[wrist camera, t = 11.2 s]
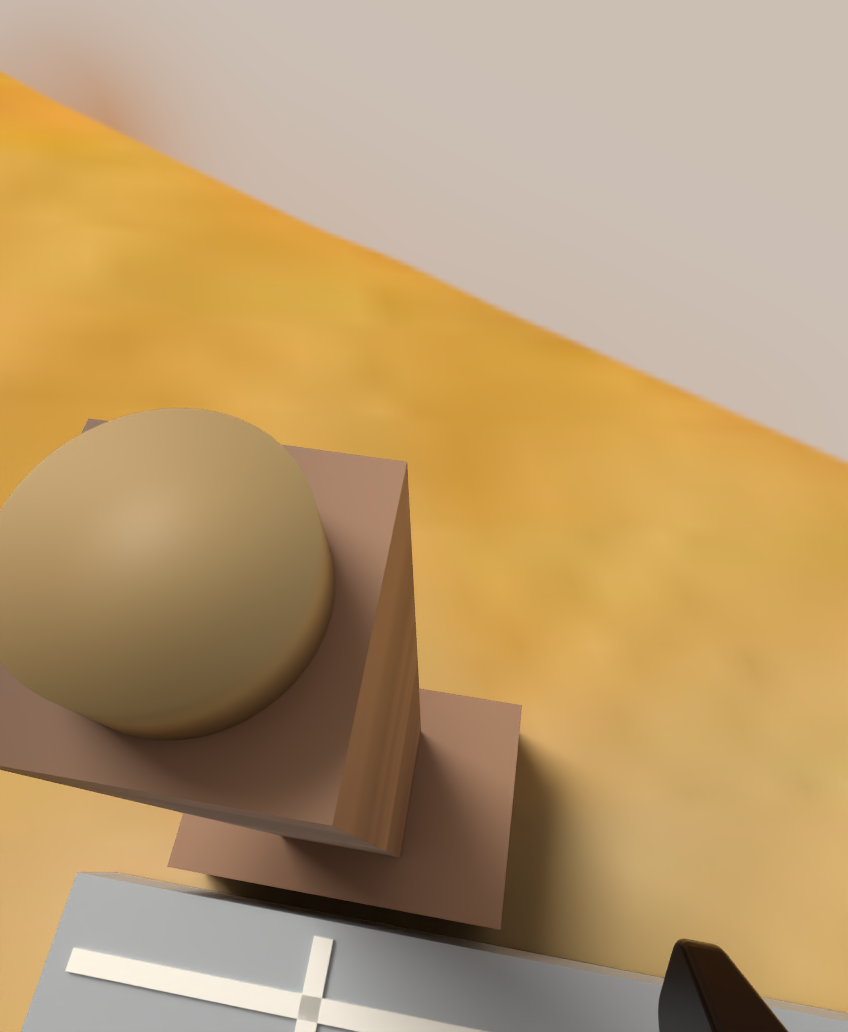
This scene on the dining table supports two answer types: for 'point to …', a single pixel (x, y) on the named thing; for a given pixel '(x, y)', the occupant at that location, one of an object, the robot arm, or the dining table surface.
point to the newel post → (248, 664)
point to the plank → (315, 973)
